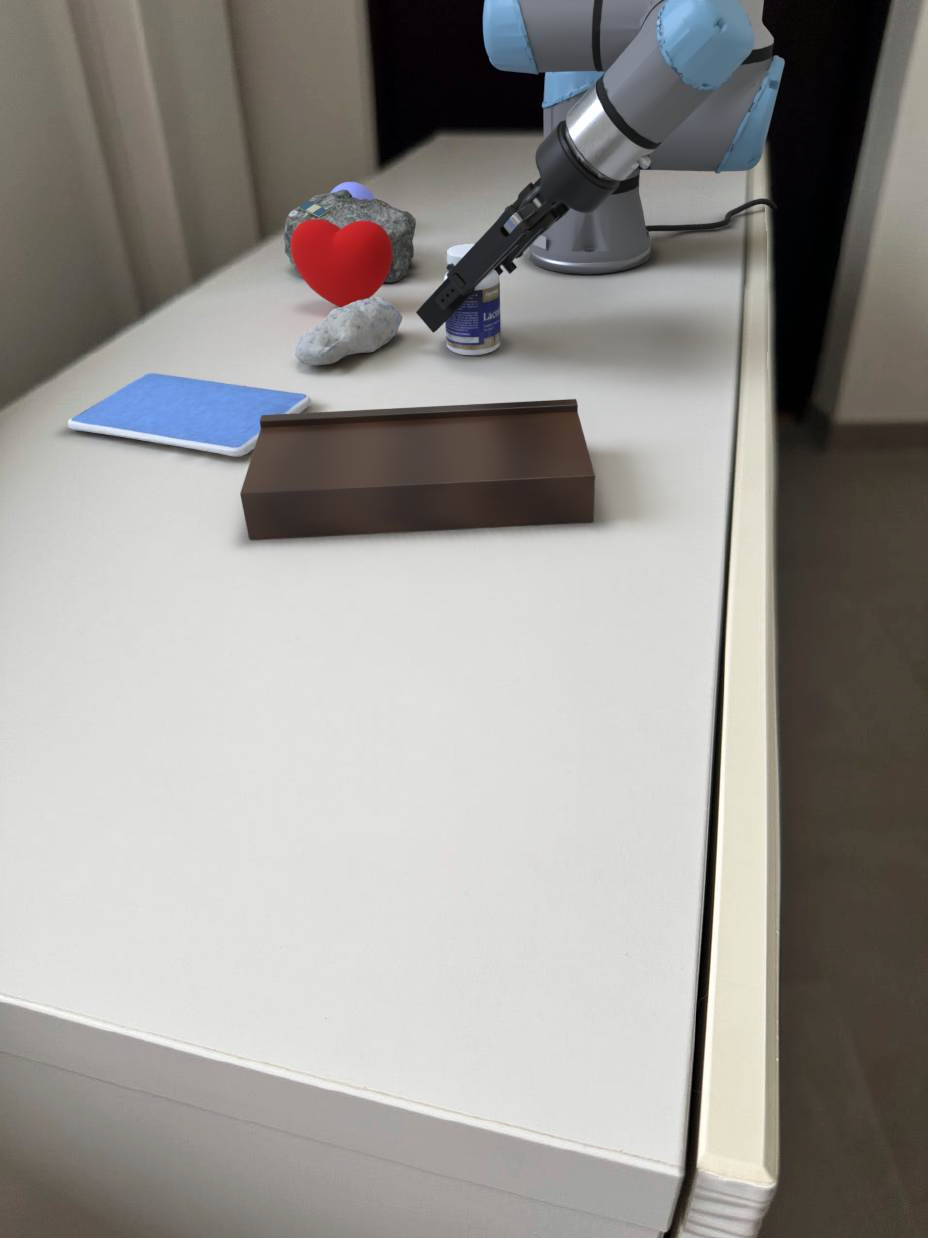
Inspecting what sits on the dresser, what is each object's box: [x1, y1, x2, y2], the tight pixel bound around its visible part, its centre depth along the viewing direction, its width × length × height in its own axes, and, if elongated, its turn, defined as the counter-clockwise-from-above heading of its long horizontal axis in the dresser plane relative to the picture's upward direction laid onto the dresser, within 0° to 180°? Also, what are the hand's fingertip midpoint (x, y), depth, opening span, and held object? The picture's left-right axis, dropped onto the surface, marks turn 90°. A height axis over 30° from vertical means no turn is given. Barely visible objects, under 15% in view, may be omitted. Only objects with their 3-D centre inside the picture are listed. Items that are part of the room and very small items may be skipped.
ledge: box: [239, 398, 596, 540], centre depth 80 cm, size 26×12×5 cm, turn 92°
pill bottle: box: [443, 243, 502, 356], centre depth 103 cm, size 6×6×10 cm
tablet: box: [67, 372, 312, 458], centre depth 94 cm, size 19×13×1 cm, turn 67°
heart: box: [291, 219, 392, 308], centre depth 114 cm, size 12×5×10 cm, turn 75°
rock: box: [283, 190, 417, 283], centre depth 127 cm, size 18×14×10 cm
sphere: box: [330, 181, 376, 200], centre depth 140 cm, size 7×7×7 cm
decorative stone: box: [295, 296, 403, 366], centre depth 105 cm, size 13×7×5 cm, turn 148°
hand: (441, 310), depth 106 cm, fingers closed on pill bottle, 6 cm apart
